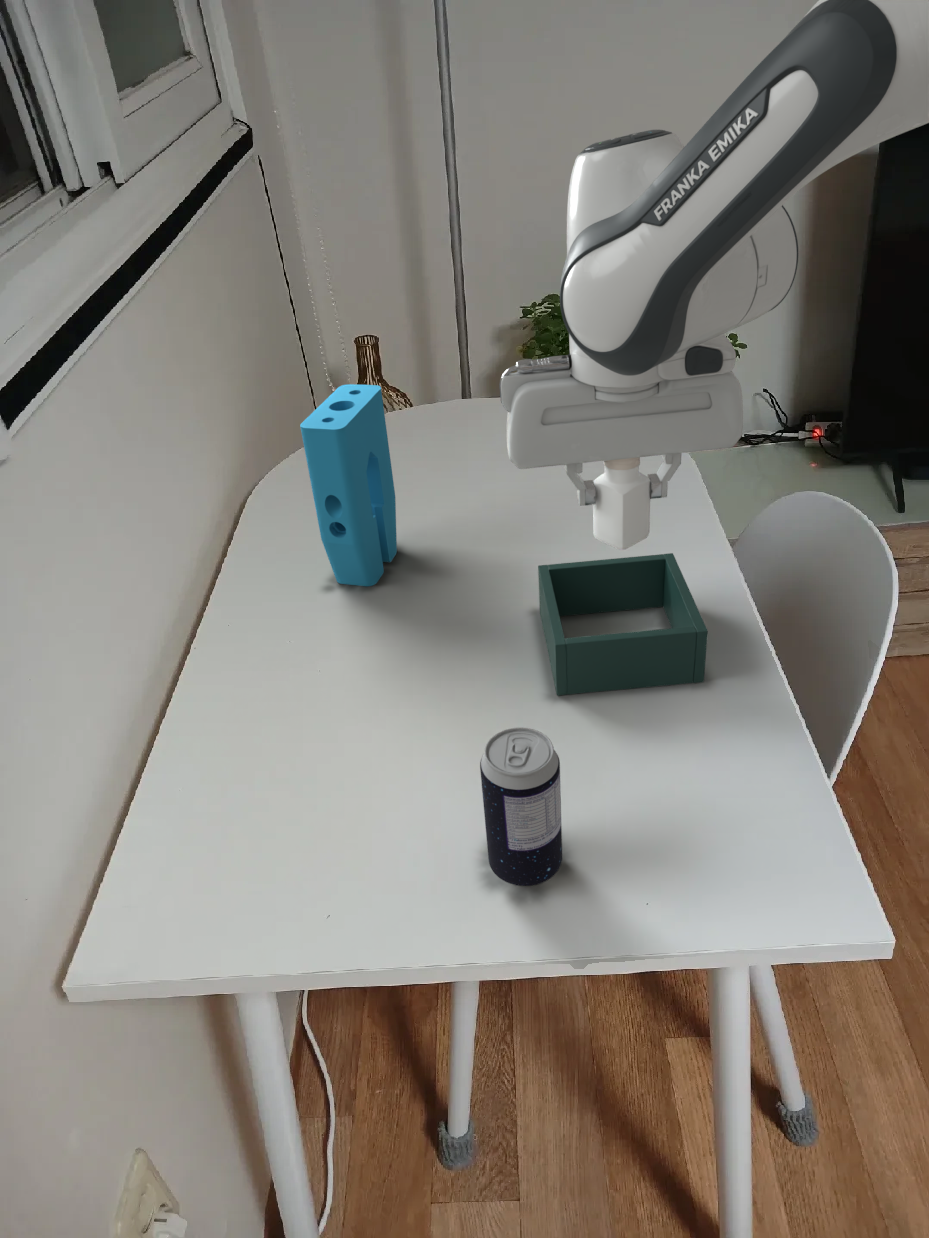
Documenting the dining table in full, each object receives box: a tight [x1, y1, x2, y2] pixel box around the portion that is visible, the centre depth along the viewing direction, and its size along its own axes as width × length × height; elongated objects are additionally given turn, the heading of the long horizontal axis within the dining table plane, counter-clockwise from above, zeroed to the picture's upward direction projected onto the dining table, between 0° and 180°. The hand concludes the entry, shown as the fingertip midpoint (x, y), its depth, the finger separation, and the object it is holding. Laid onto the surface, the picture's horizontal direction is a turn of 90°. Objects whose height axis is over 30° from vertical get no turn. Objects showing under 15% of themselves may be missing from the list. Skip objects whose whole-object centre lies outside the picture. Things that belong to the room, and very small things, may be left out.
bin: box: [537, 552, 709, 697], centre depth 94 cm, size 14×14×6 cm
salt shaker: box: [592, 457, 651, 551], centre depth 86 cm, size 4×4×10 cm
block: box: [299, 383, 398, 587], centre depth 107 cm, size 12×5×20 cm, turn 164°
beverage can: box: [479, 727, 563, 887], centre depth 70 cm, size 6×6×12 cm
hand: (622, 499), depth 86 cm, fingers closed on salt shaker, 5 cm apart
